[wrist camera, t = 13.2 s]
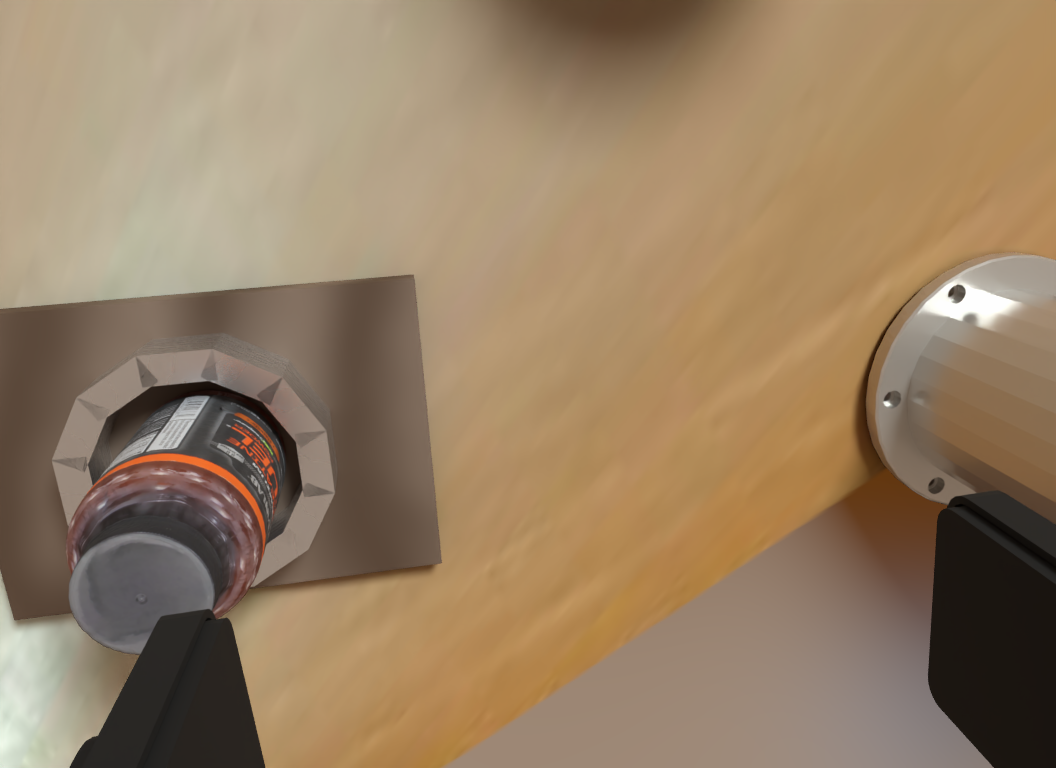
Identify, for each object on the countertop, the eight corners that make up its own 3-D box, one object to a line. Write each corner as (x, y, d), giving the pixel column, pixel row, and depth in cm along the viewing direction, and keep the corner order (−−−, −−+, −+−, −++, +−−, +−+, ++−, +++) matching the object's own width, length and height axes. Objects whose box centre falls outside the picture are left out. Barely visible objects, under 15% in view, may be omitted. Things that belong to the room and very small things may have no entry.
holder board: (413, 274, 35) (414, 278, 34) (440, 552, 39) (441, 563, 38) (-58, 313, 32) (-71, 319, 31) (24, 607, 36) (14, 620, 35)
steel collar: (318, 324, 34) (313, 339, 31) (348, 545, 37) (346, 574, 35) (53, 347, 32) (28, 366, 30) (107, 576, 35) (88, 608, 33)
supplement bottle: (317, 473, 36) (291, 624, 25) (195, 543, 36) (118, 723, 25) (235, 357, 34) (169, 467, 23) (106, 431, 34) (-20, 575, 23)
